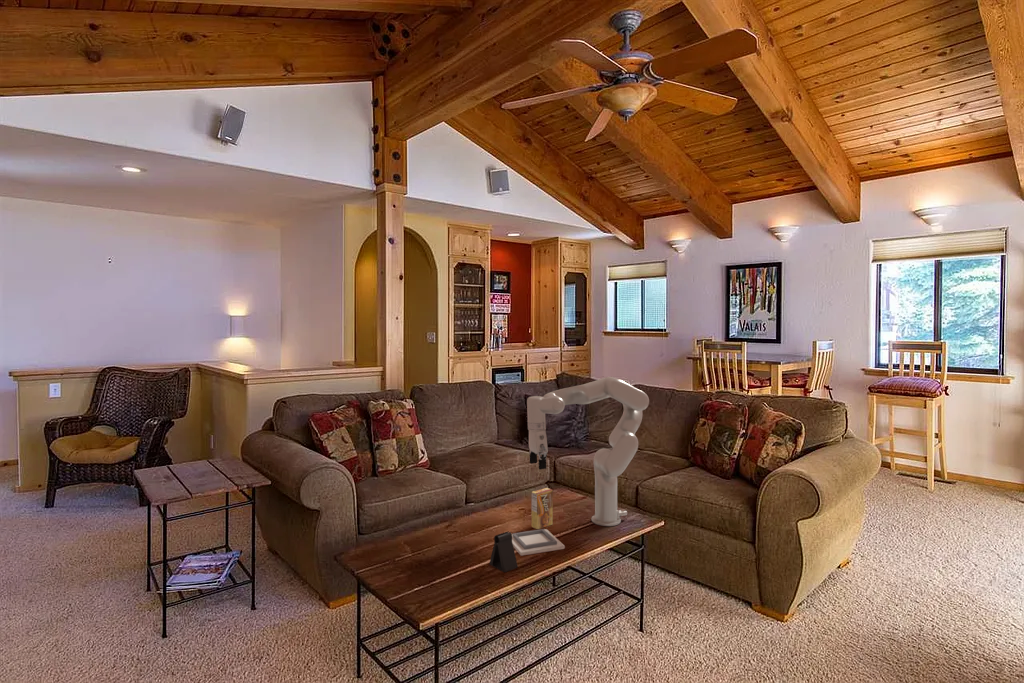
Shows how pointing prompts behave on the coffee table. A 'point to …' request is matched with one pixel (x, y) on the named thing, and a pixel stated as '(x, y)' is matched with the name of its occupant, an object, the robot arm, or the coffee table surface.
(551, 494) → the candy box
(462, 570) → the coffee table surface
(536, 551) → the tile
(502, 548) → the phone stand
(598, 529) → the coffee table surface
